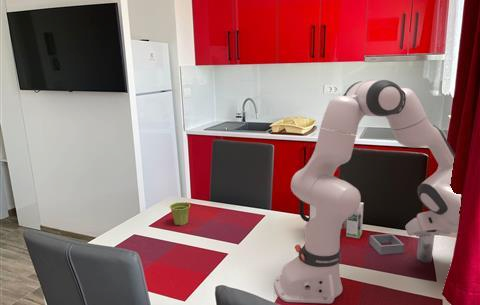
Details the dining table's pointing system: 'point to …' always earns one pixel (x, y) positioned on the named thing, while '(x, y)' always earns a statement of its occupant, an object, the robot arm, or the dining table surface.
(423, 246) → the tube
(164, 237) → the dining table surface
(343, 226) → the small box
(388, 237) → the socket
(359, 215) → the syrup box
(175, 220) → the plant pot
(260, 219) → the dining table surface
